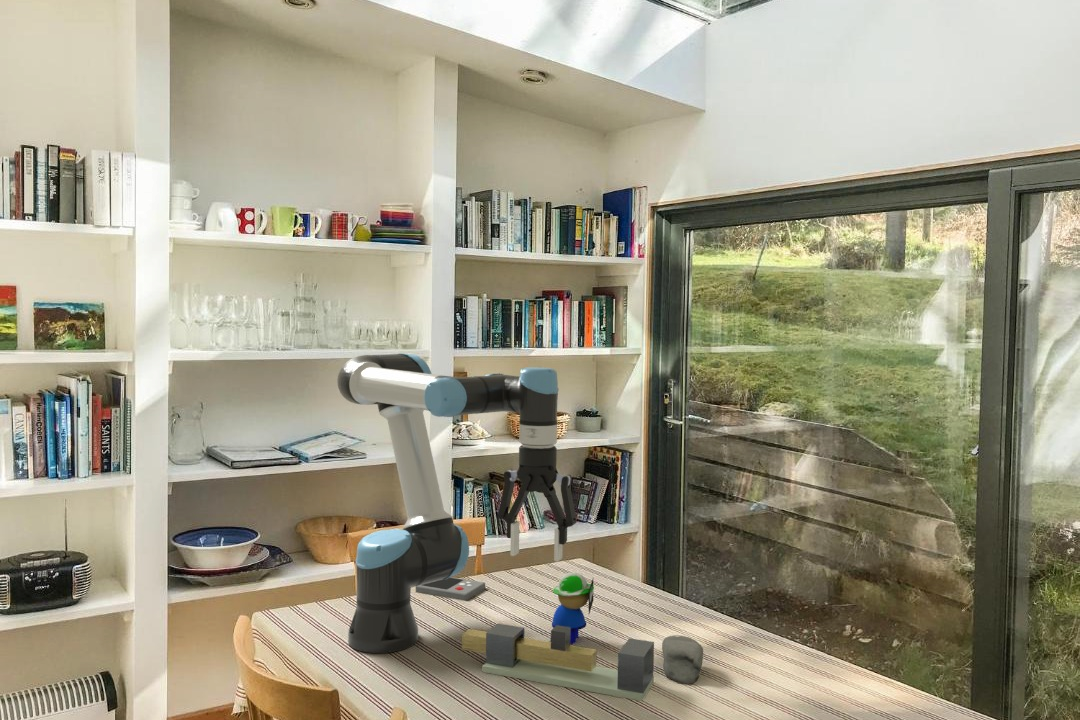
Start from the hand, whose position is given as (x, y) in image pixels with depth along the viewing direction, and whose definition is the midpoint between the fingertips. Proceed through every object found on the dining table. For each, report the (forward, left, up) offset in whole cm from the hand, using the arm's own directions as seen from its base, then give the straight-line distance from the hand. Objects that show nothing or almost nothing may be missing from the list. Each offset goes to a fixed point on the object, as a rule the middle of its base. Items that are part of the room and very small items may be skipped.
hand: (536, 556), depth 171 cm
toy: (+2, +19, -24) cm, 30 cm away
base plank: (+7, 0, -23) cm, 24 cm away
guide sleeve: (-6, 0, -22) cm, 23 cm away
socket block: (+21, 0, -22) cm, 31 cm away
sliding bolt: (-1, 0, -21) cm, 21 cm away
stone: (+28, +11, -24) cm, 38 cm away
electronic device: (-39, +38, -24) cm, 59 cm away
